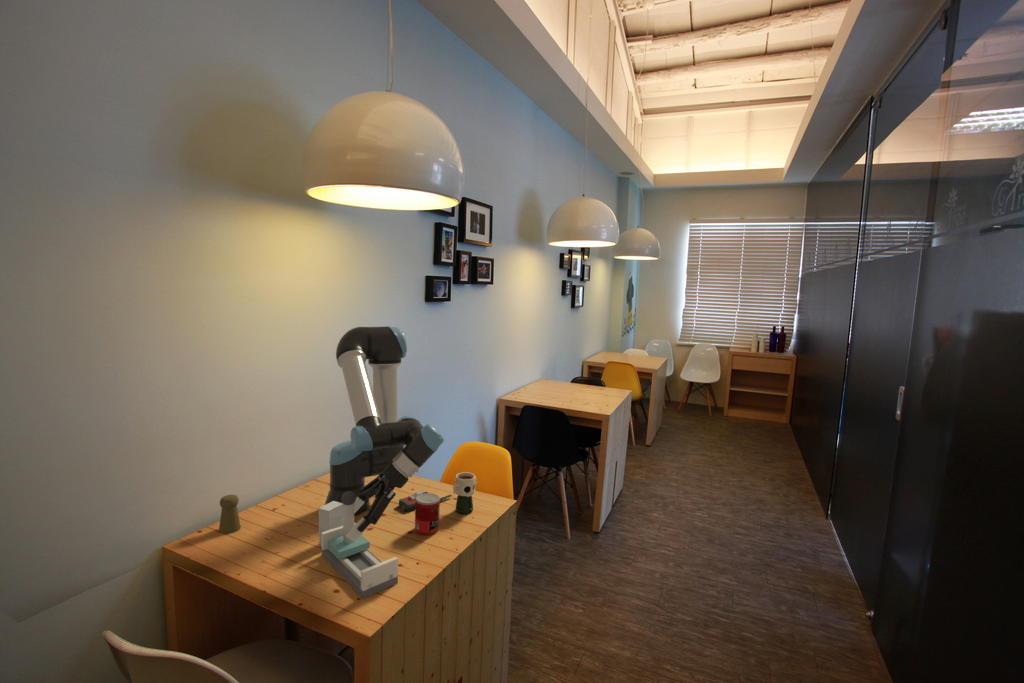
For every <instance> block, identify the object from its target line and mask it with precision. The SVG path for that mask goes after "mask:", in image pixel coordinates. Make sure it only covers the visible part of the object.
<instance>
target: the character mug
mask: <svg viewBox="0 0 1024 683" xmlns="http://www.w3.org/2000/svg"><path fill="white" fill-rule="evenodd" d="M454 480H455V481H454V482H455V483H454V484H453V489H452V490H453V494H456V495H457V497H456V504H455V510H456V511H457V512H459V513H460V514H461V513H462V514H468V513H469V514H470V511H471V512H473V510H474V502H473V495H474V494H475V492H476V485H477V477H476V475H475V474H474V473H472V472H467V471H463V472H459V473H457V474H456V475H455V477H454Z"/></svg>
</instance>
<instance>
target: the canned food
mask: <svg viewBox="0 0 1024 683" xmlns="http://www.w3.org/2000/svg"><path fill="white" fill-rule="evenodd" d="M440 498H441V497H440V496H439V495H438V494H435V493H432V492H428V493H424V494H420V495H418V496H417V497H416V499H415V510H414V530H415V532H416V533H417V534H419V535H421V536H431V535H435V534H437V532H438V531H439V528H440V508H441V507H440V506H441V505H440V504H441V501H440Z"/></svg>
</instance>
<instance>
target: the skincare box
mask: <svg viewBox="0 0 1024 683" xmlns="http://www.w3.org/2000/svg"><path fill="white" fill-rule="evenodd" d="M342 513H343V503H339V502H336V501H332V502H330V503H328V504H326V505H325V504H323V505H322V506H321V507H318V537H319V538H318V542H319V543H318V545H319V546H321V547H322V532H325V531H328V530H331V529H334V528H337V527H340V526H343V515H342Z"/></svg>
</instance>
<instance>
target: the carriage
mask: <svg viewBox="0 0 1024 683" xmlns="http://www.w3.org/2000/svg"><path fill="white" fill-rule="evenodd" d="M341 501H342V503H343V536H341V537H338V538H335V539H332V540H329V541H327V548H328V549H329V550H330V551H331V552H332V553H333V554H334V555H335V556H336V557H337V558H338V559H339V560H340V559H342V558H345V557H348V556H350V555H353V554H356V553H358V552H361V551H364V550H366V549H368V550H369V549H370V544H371V543H370V541H369V540H368V539H367V538H366V537H365V536H364V535H362V534H361V535H360V536H359V537H358V538H357V539H356V540H355V541H354V542H353V541H351V540H350V539H349V538H347V537H346V535H347V534H348V533H349V532H350V531H351V530H352V528H353V527H354V522H355V516H354V502H355V501H356V495H355V493H354V492H352V491H347V492H345V493H344V494H343V495H342V498H341Z"/></svg>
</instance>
